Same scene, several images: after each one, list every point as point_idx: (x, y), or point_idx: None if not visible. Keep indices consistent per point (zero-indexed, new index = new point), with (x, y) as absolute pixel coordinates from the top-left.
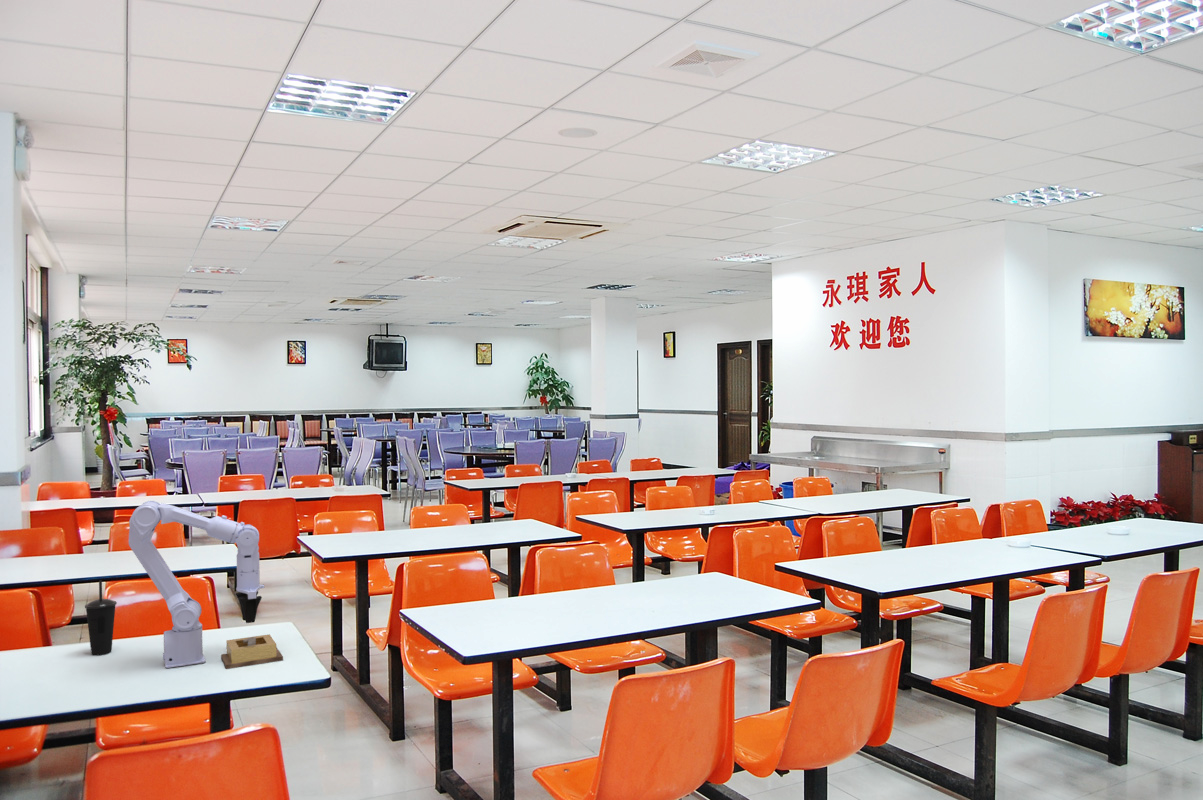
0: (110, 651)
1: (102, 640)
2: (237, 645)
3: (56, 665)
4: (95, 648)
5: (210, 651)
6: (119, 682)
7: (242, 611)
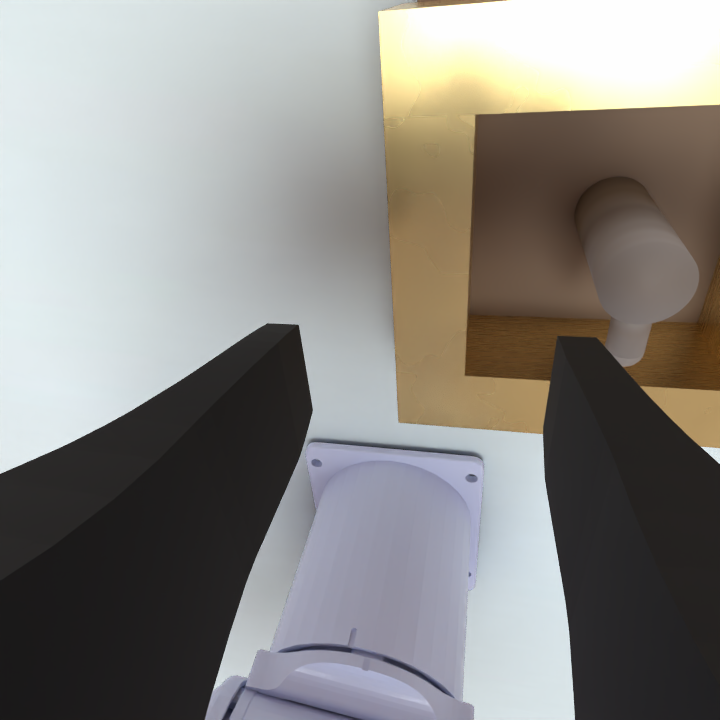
0: None
1: None
2: (651, 388)
3: None
4: None
5: None
6: (561, 692)
7: (275, 503)
